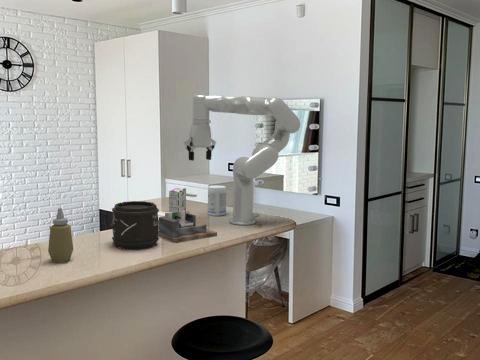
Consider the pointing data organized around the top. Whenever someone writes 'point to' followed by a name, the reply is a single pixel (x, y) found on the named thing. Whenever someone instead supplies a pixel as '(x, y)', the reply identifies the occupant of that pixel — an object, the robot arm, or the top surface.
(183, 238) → the force tester
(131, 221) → the black round canister
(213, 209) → the supplement tub
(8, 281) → the top surface
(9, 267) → the top surface
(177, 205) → the candy bar box
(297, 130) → the robot arm
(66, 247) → the squeeze bottle
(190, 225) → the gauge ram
